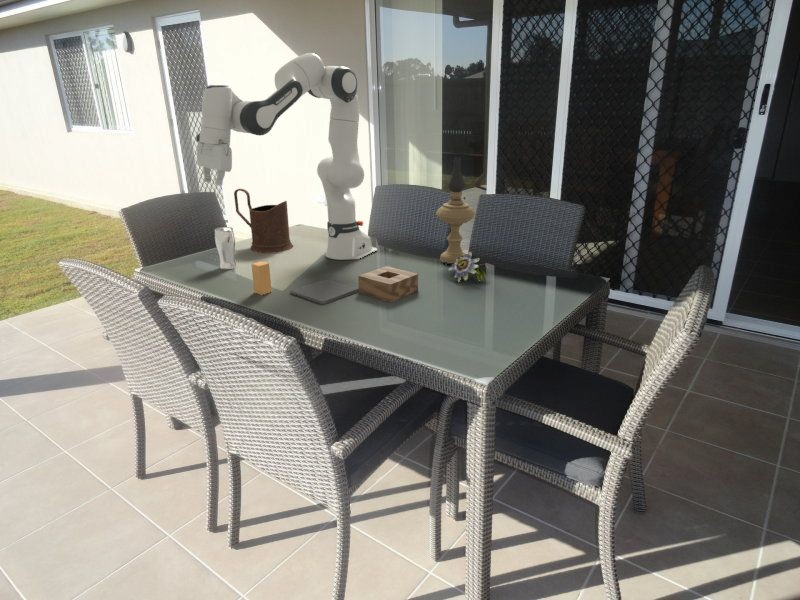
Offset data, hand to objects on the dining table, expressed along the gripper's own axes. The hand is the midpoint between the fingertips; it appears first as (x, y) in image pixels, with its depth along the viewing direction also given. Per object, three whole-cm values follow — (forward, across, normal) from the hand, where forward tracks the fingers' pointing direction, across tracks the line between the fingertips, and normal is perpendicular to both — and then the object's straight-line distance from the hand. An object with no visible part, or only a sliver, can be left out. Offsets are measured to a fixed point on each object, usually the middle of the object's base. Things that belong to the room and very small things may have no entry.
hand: (212, 183), depth 171 cm
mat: (+30, -26, -29) cm, 50 cm away
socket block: (+27, -39, -46) cm, 66 cm away
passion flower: (+22, -46, -75) cm, 91 cm away
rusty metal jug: (+28, +42, -41) cm, 65 cm away
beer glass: (+33, +22, -16) cm, 43 cm away
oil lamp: (+20, -27, -88) cm, 94 cm away
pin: (+33, -13, -14) cm, 38 cm away
